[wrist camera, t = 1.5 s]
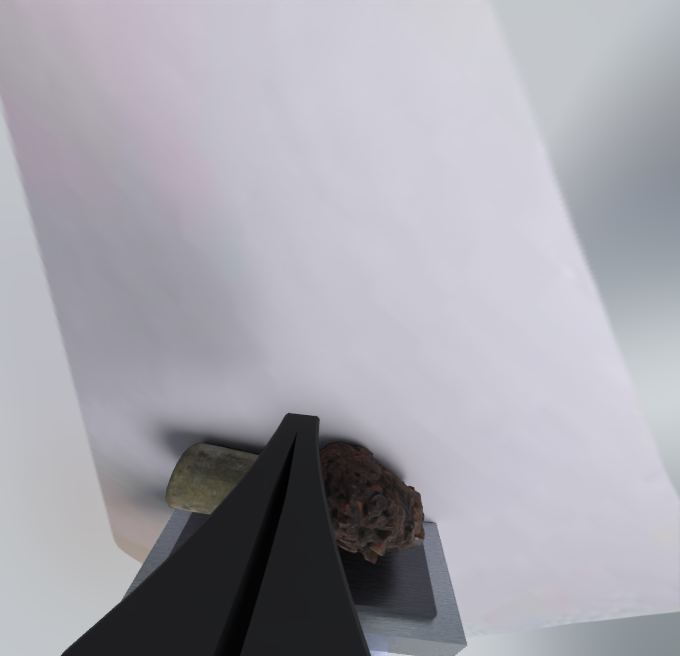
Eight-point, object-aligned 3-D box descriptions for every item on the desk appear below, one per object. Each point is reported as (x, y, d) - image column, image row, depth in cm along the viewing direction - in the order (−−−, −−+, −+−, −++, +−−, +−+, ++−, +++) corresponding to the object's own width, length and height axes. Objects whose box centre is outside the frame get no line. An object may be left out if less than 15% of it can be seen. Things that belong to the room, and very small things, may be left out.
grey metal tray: (425, 543, 24) (449, 659, 18) (192, 516, 24) (137, 621, 18) (439, 518, 22) (472, 641, 16) (182, 488, 22) (114, 597, 16)
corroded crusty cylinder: (207, 464, 21) (159, 545, 16) (199, 408, 18) (137, 487, 13) (405, 497, 21) (420, 586, 16) (429, 447, 18) (458, 539, 13)
